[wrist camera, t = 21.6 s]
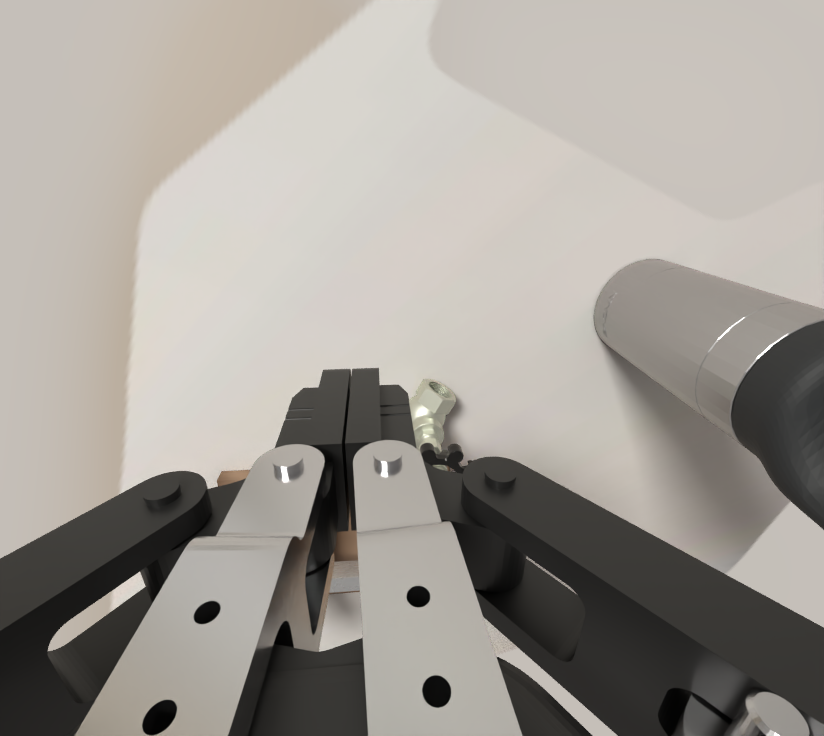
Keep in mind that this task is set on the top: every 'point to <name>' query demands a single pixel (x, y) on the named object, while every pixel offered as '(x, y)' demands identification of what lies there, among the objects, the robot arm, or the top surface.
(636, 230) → the top surface
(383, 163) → the top surface
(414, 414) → the valve
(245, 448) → the top surface
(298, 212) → the top surface
